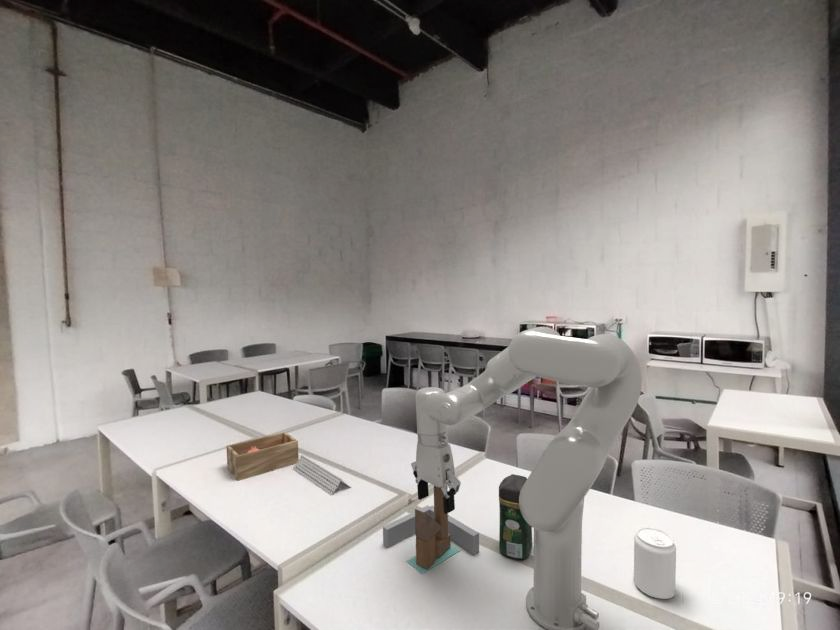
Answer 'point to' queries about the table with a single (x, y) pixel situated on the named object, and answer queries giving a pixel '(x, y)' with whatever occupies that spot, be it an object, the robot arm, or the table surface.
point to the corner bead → (318, 468)
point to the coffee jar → (513, 520)
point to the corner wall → (455, 528)
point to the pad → (446, 555)
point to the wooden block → (432, 532)
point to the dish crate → (262, 455)
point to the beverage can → (654, 562)
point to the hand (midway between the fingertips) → (435, 504)
